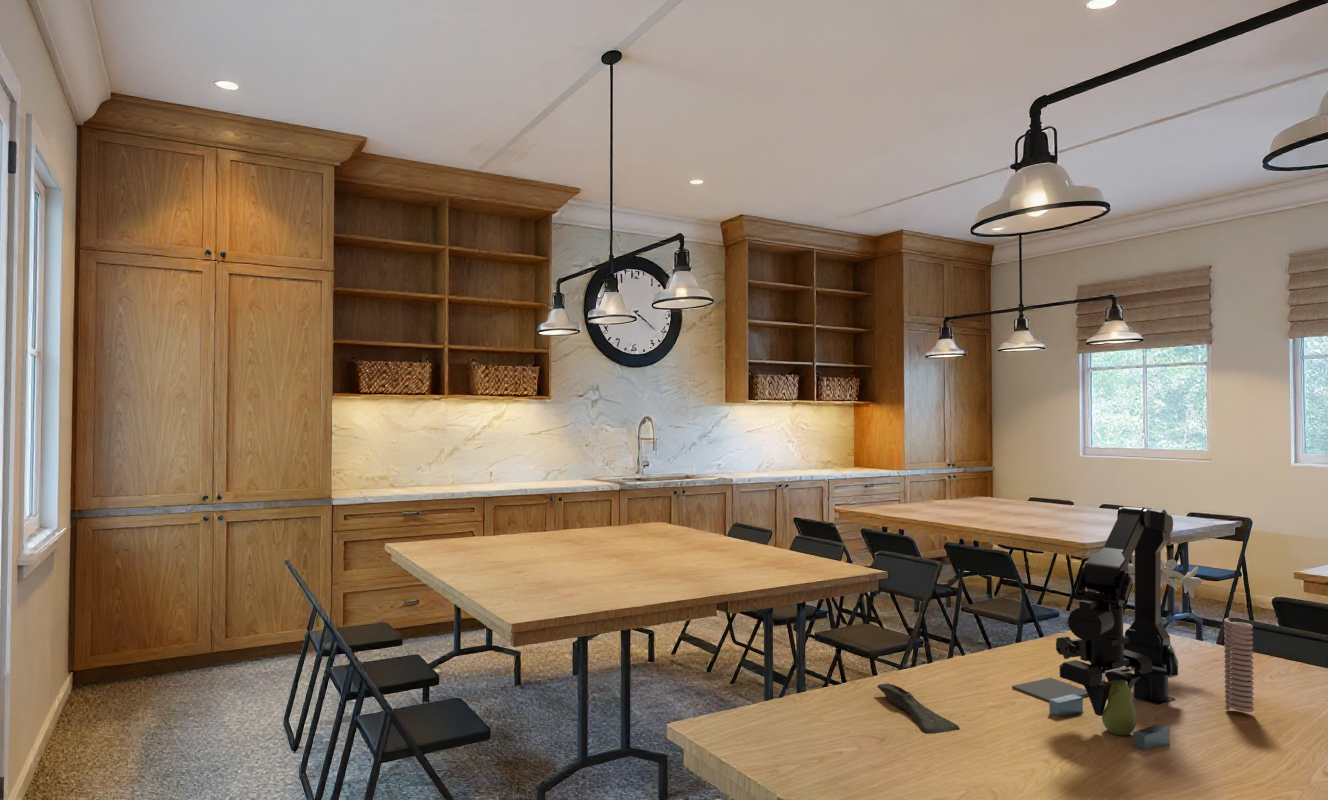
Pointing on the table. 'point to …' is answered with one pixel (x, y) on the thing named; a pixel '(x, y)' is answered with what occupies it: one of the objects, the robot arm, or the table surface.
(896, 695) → the tool
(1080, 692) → the mat
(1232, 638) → the coil
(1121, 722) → the pear
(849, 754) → the table surface
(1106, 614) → the robot arm
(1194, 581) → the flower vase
